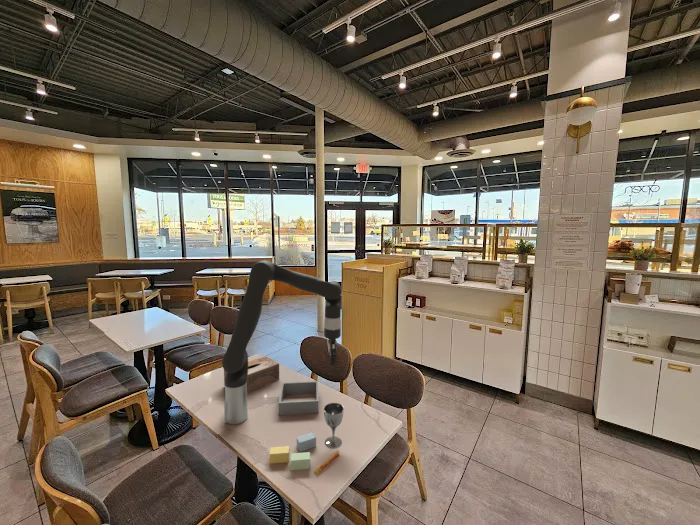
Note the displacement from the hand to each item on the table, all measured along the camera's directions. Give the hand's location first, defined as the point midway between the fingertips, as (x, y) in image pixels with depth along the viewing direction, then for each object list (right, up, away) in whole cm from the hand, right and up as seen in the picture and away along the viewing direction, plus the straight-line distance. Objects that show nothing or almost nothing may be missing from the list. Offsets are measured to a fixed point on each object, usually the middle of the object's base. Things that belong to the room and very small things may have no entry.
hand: (331, 360), depth 137 cm
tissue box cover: (-47, -24, +34) cm, 62 cm away
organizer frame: (-17, -26, +15) cm, 35 cm away
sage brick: (-10, -31, -25) cm, 41 cm away
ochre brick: (-19, -31, -22) cm, 42 cm away
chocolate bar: (0, -32, -23) cm, 39 cm away
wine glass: (+1, -30, -12) cm, 32 cm away
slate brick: (-9, -30, -15) cm, 35 cm away
